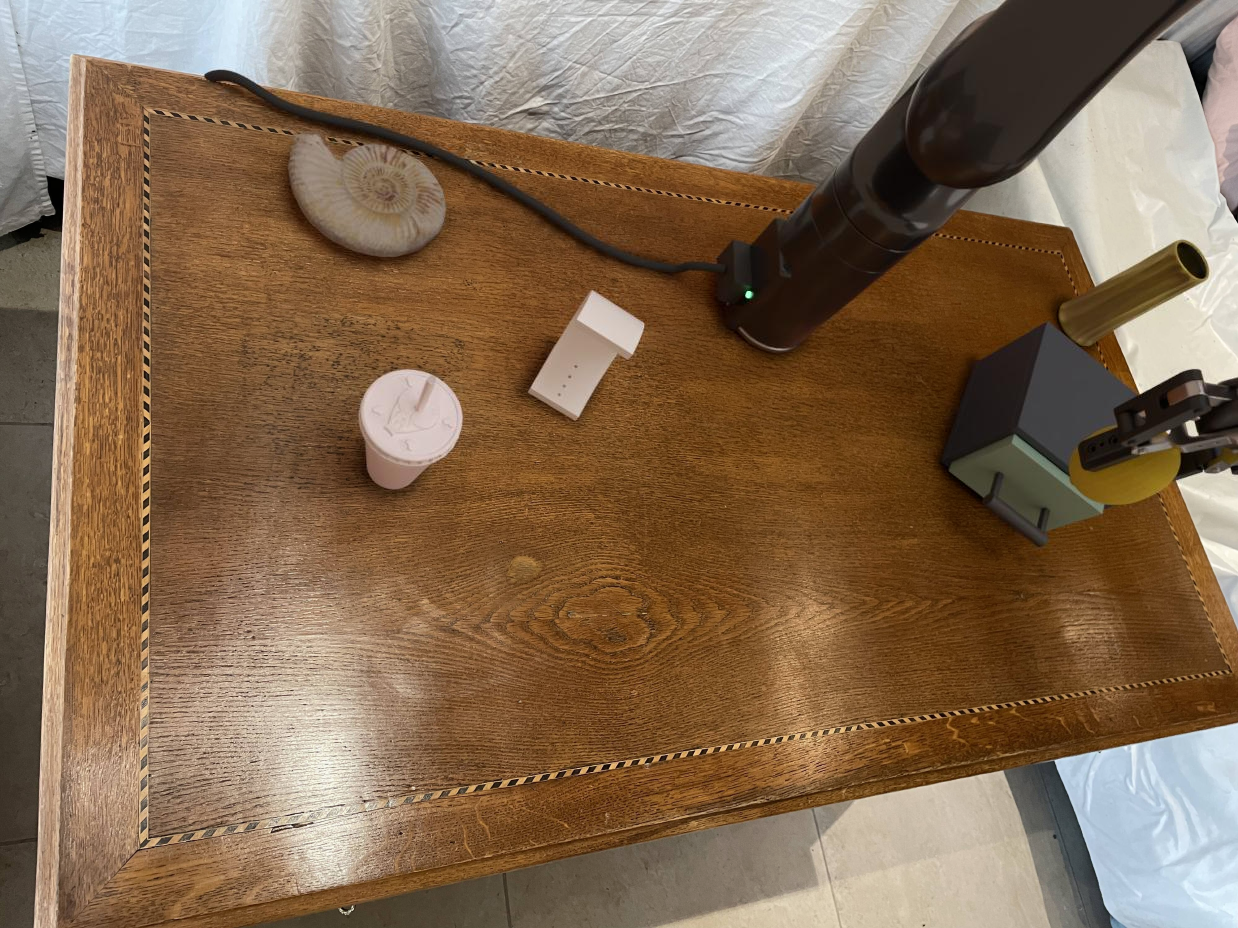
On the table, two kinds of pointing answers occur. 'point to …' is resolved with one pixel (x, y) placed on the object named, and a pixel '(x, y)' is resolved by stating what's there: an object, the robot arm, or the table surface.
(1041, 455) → the drawer
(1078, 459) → the lemon
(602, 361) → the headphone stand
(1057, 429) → the cabinet
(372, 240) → the fossil
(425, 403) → the smoothie
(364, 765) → the table surface
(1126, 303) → the vase
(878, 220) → the robot arm
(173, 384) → the table surface
